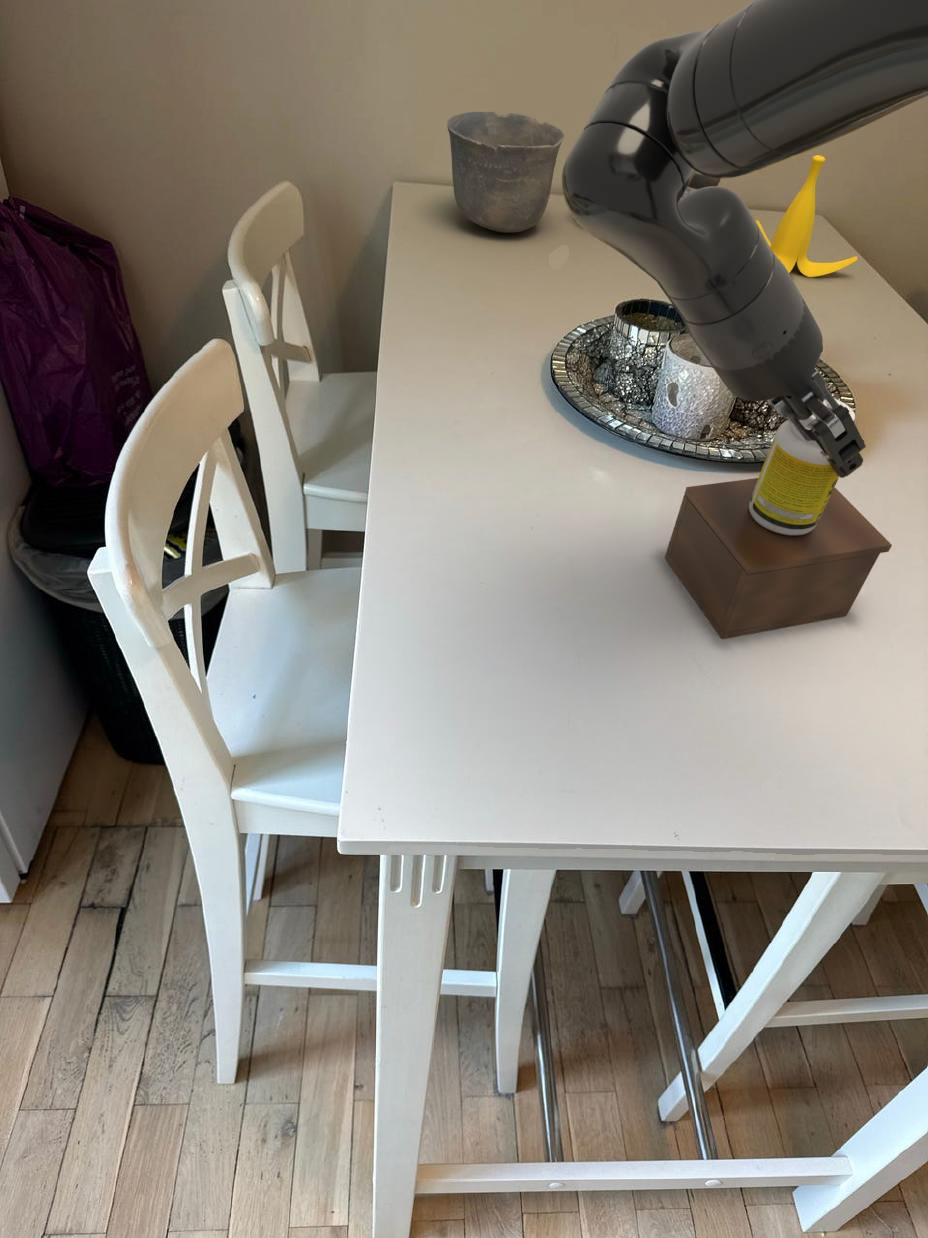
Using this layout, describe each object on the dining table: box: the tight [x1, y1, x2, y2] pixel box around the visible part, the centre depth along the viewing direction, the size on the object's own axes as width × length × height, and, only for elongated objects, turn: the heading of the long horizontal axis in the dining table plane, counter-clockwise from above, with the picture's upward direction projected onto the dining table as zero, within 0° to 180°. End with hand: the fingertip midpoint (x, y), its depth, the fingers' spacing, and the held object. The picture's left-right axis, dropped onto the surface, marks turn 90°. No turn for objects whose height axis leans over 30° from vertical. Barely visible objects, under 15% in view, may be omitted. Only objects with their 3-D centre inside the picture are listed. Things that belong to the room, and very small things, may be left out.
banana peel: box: [755, 154, 858, 278], centre depth 136 cm, size 16×19×17 cm
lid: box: [684, 477, 893, 574], centre depth 80 cm, size 14×12×1 cm
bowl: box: [446, 111, 565, 234], centre depth 141 cm, size 18×18×15 cm
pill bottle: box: [749, 398, 856, 535], centre depth 76 cm, size 6×6×11 cm
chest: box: [664, 494, 881, 640], centre depth 83 cm, size 14×12×8 cm
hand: (826, 445), depth 75 cm, fingers closed on pill bottle, 6 cm apart
